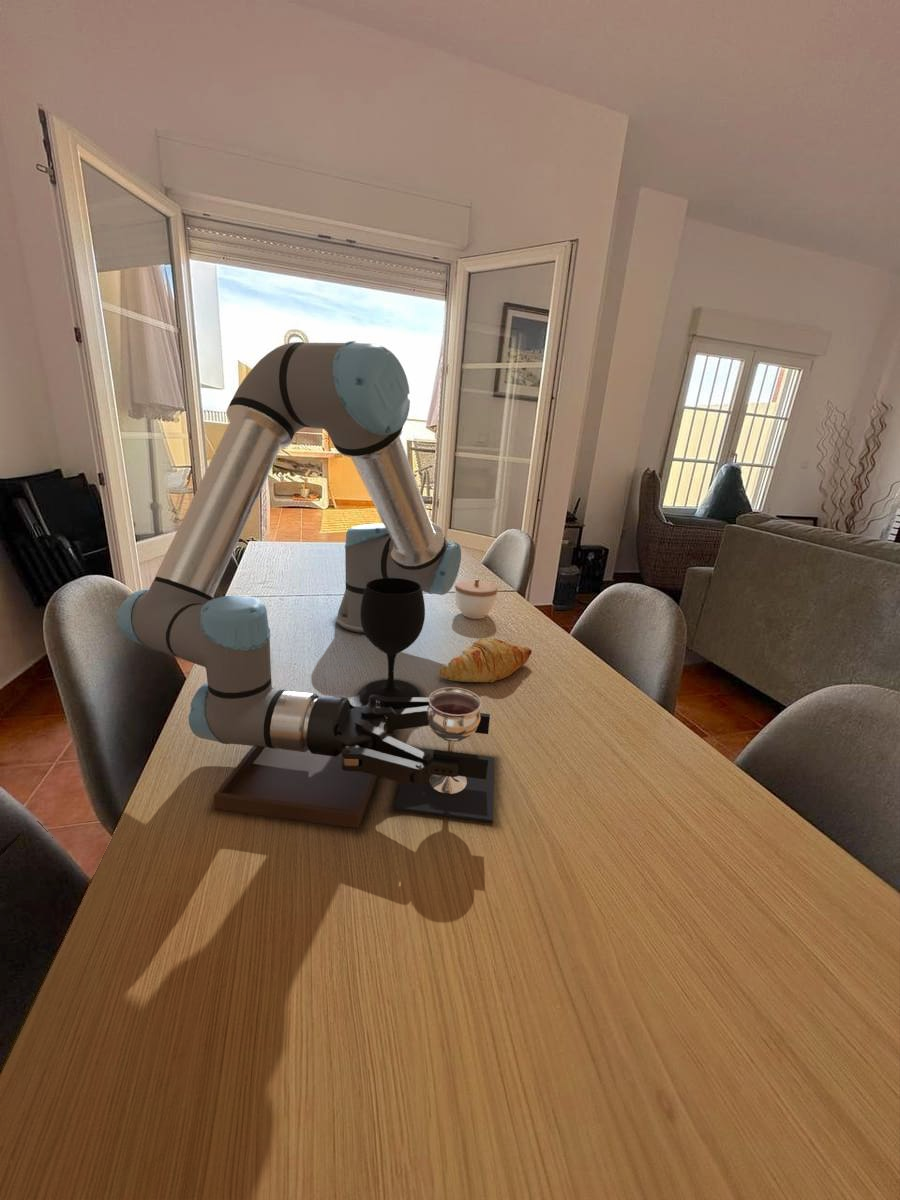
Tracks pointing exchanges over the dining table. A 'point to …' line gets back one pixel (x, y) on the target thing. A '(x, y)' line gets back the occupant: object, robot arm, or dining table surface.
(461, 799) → the mat
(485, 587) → the trinket box
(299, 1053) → the dining table surface
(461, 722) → the wineglass
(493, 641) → the croissant
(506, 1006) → the dining table surface
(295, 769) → the tray
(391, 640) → the wine glass
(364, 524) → the robot arm
